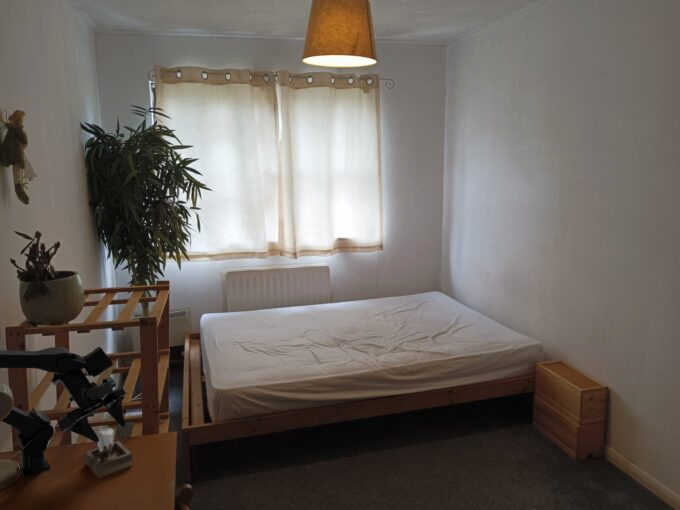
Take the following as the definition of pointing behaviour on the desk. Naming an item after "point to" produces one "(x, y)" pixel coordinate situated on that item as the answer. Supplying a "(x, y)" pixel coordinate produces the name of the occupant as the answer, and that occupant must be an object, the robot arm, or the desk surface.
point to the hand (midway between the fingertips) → (111, 433)
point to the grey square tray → (119, 461)
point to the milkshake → (105, 444)
